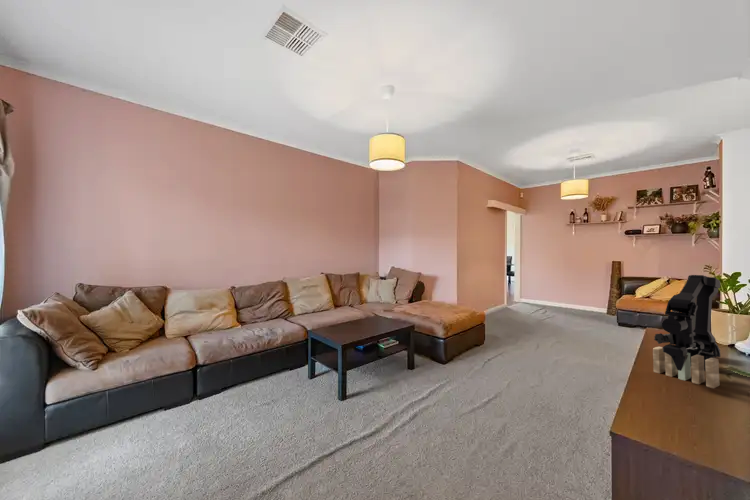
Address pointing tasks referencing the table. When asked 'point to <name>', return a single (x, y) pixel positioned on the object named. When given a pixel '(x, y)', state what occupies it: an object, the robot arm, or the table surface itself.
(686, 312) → the robot arm
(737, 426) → the table surface
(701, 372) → the domino
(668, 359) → the domino
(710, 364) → the domino
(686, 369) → the domino
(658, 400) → the table surface
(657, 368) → the domino
